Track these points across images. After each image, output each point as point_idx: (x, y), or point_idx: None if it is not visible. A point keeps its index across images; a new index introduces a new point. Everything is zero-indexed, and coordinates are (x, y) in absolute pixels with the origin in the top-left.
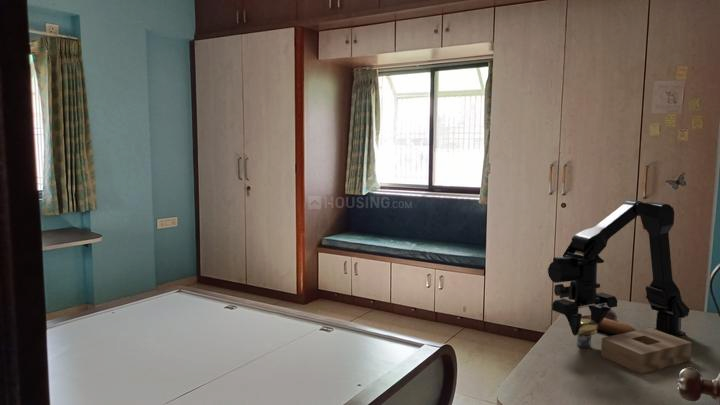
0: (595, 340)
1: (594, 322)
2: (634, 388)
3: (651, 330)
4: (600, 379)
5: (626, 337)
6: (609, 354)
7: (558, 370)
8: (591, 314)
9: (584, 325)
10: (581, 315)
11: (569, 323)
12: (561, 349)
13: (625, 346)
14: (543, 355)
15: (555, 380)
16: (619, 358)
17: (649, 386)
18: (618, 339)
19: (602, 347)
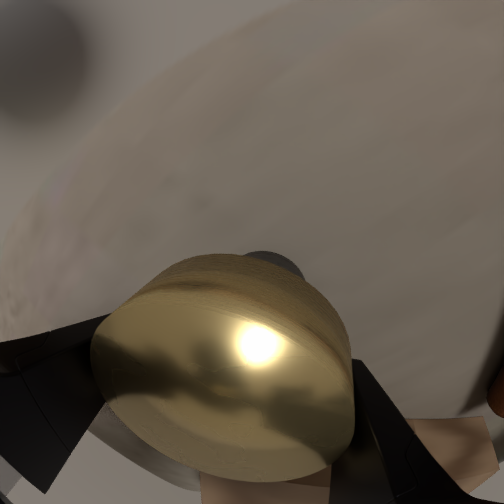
0: (417, 279)
1: (292, 468)
2: (148, 459)
3: (468, 486)
4: (107, 414)
5: (313, 501)
6: None
7: (43, 329)
8: (384, 482)
9: (145, 433)
10: (44, 485)
11: (53, 336)
12: (122, 238)
13: (211, 501)
14: (42, 235)
15: None
16: None
17: (183, 475)
18: (255, 493)
19: None
